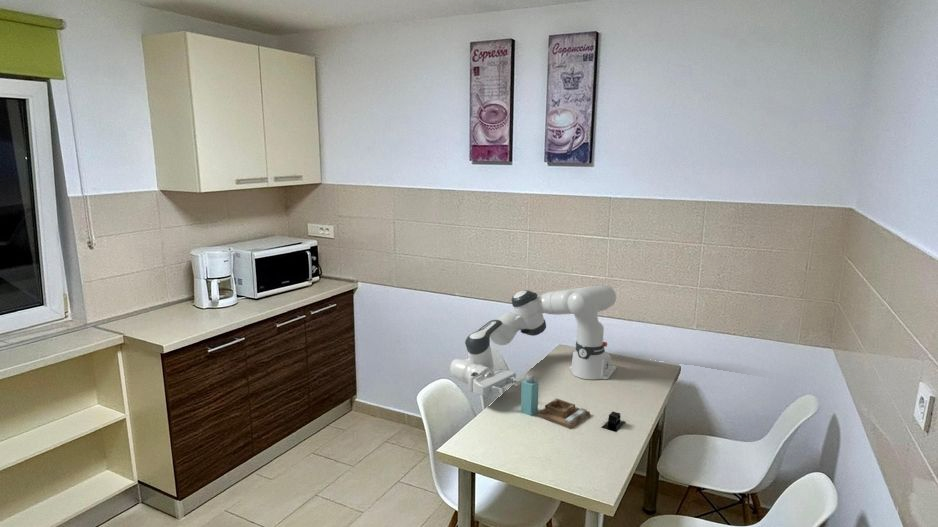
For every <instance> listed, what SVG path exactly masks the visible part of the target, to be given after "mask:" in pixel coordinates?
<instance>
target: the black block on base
mask: <svg viewBox="0 0 938 527" xmlns="http://www.w3.org/2000/svg"><path fill="white" fill-rule="evenodd" d="M621 416H622V415H621V413H619V412H616V411H611V413H609V414H608V421H607V422H605V423H604V424H603V425H602V426H601V428H602V429H604V430H608V431H610V432H615V433H618V432H619V431H620V430H621V428H622V427H623V426H624V425H625V424H626V423H625V422H626V421H624V420H621Z"/></svg>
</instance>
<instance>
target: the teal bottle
mask: <svg viewBox="0 0 938 527" xmlns="http://www.w3.org/2000/svg"><path fill="white" fill-rule="evenodd" d="M525 376H526V377H525V379H524V380H523V381H521V388H520V390H521V391H520V392H521V394H520V397H521V398H520V413H522V414H525V415H527V416H530V417H531V416H533V415H535V414H537V413H538V412H539V389H540V388H539V386H540V385H539V384H540V381H539V380H535V375H531V374H527V375H525Z"/></svg>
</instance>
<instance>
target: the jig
mask: <svg viewBox="0 0 938 527" xmlns="http://www.w3.org/2000/svg"><path fill="white" fill-rule="evenodd" d="M590 413H591V411H589V410H587V408H586V409H585V408H583V407H581V408H579V407H576V404H574V403H571V402H568V401H565V400H562V399H560V398H555V399H553V400H551V401H550V402H548V403H547V404H545V405H544V408H542V409H541V410H540V411H538V412H537V413H536V417H538V418H541V419H543V420H546V421H548V422H551V423H554V424H557V425H559V426H561V427H564V428H567V429H569V430H570V429H572V428H573V427H575V426H576V425H578V424H579V423H581V422H582V421H584V420H585V419H586V418H588V417H589V416H590V415H591V414H590Z"/></svg>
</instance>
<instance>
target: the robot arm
mask: <svg viewBox="0 0 938 527" xmlns="http://www.w3.org/2000/svg"><path fill="white" fill-rule="evenodd" d="M616 302H617V294H616V291H615V289H614V288H612V287H611V286H610V285H599V284H598V285H592V286H591V285H590V286H585V287H576V288H570V289H560V290H551V291H548V292H544V293H542V294H540V295H539V296H538V293H536V292H533V291H531V290H527V289H526V290H525V289H524V290H520V291H518V292H516V293H515V294H513V296H512V297H511V305H512V307H513V309H514V312H512V311H507V312H505V313H503V314H502V315H501V316H499V317H498V318H497V319H492V320H490V321H489V320H488V322H486V323H485V324H484V325H482V326H481V327H480V328H479V329H478V330H475V332H472V333H470V334H469V335H468V336H467V337H466V339H465V341H464V344H465V347H466V350H467V355H468V358H465V359H462V358H455V359H453V360H452V361H451V363H450V367H449V370H450V375H451V377H452V378H454V379H455V380H457V381H458V382H461V383H464V384H468V391H469V392H470V393H474V394H475V395H479V396H483V397H484V396H487V395H489V394H492V393H494V394H495V393H497V394H502V395H503V394H504V393H505V389H506V388H504V387H506V386H508V385H510V384H513V386H515V387H518V386H519V385H520V381H519V379H518V380H517V379H516V378H517V377H516V376H517V375H516V374H517V373H516V372H515V371H513V370H509V369H504V368H500V369H497V370H495V371H493V370H494V361H493V360H494V359H493V354H492V347H491V342H492V343H494V344H496V345H498V346H507V345H508V344H510V343H511V342H512V341H513V340H514V338H515V336H516V335H517V333H518V332H519V331H520V333H522V334H523V335H524V334H525V335H527V336H532V337H535V336H539V335H540V334H542V333H544V332H545V331H546V329H547V322H546V319H545V318H544V314H548V315H555V316H556V315H557V316H558V315H559V316H560V315H573V316H574V317H575V321H576V324H577V325H576V326H577V332H576V333H577V334H576V341H575V351H573V352H572V360H571V365H569V367H568V369H569V370H570V371H571V373H572V375H573V376H575V377H577V378H579V379H583V380H584V379H585V380H593V381H594V380H608V379H610V378H611V376H612V375H613V374H614V373H615V371H616V370H617V366H616V365H614V364H612V356H611V355H610V354H609V353H608V352H607V351H606V350H605V349H606V347H607V346H608V342H606V341H604V330H605V329H604V325H603V324H602V323H601V322H600V321H599V319H598V317H599V316H598V312H603V311H606V310H607V309H609V308H611V307H613V306H614V305H615V304H616Z"/></svg>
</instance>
